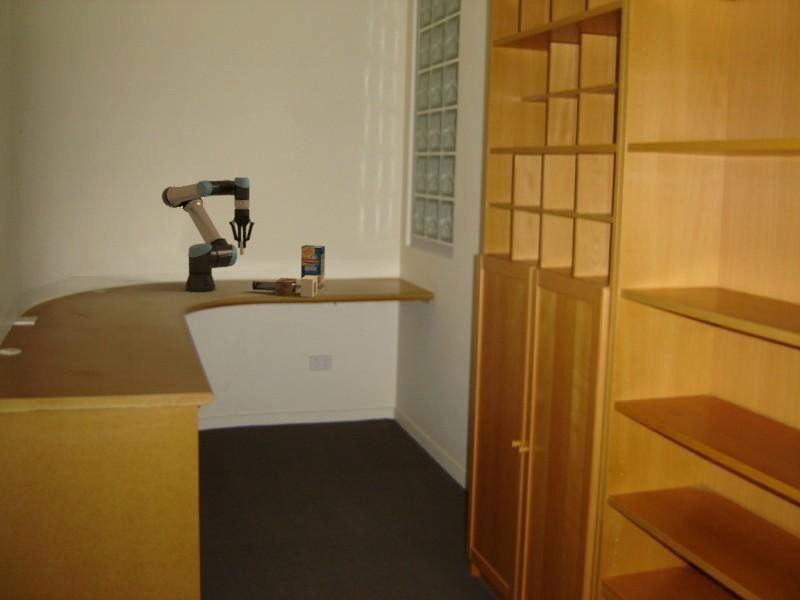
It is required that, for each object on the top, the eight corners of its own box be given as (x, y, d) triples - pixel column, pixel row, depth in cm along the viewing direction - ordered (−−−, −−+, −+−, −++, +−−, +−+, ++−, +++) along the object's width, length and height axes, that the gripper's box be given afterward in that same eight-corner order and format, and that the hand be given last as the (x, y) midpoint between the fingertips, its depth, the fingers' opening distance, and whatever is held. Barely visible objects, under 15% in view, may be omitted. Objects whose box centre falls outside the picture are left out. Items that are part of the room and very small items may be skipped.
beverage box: (320, 288, 485) (321, 247, 481) (300, 287, 487) (301, 246, 483) (324, 286, 491) (325, 246, 488) (305, 285, 494) (305, 245, 490)
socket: (300, 296, 460) (300, 278, 458) (305, 292, 472) (305, 275, 470) (312, 297, 459) (312, 279, 458) (317, 293, 471) (317, 275, 470)
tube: (252, 290, 466) (252, 281, 465) (254, 289, 471) (254, 280, 470) (294, 292, 464) (294, 283, 463) (296, 290, 468) (296, 282, 468)
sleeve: (275, 295, 461) (275, 281, 460) (281, 291, 473) (281, 278, 472) (290, 295, 461) (291, 282, 459) (296, 292, 472) (296, 278, 471)
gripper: (227, 208, 459) (227, 254, 463) (252, 209, 457) (252, 255, 461) (231, 207, 466) (231, 253, 470) (256, 208, 465) (256, 254, 469)
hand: (242, 254), depth 466 cm, fingers closed
